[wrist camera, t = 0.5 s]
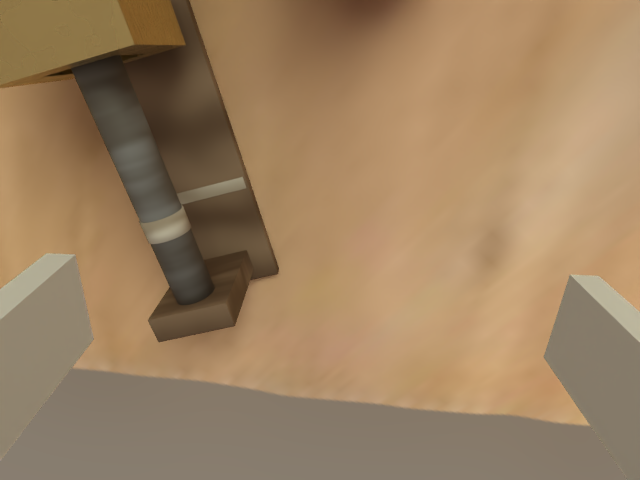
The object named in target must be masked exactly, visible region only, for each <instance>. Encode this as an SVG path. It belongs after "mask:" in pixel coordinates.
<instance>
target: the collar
mask: <svg viewBox="0 0 640 480" xmlns="http://www.w3.org/2000/svg"><path fill="white" fill-rule="evenodd" d="M185 45H186V44H185V41H184V38H183V35H182V33H181V30H180V27H179V24H178V21H177V18H176V15H175V13H174V10H173V7H172V4H171V1H170V0H0V88H5V87H13V86H21V85H29V84H37V83H45V82H53V81H61V80H69V79H73V78H75V76H74V74H73V72H72V70H71V68H74V67H77V66H81V65H84V64H87V63H91V62H94V61H97V60H101V59H104V58H107V57H111V56H114V55H120V56H121V58H122V61H123V63H127V62H131V61H134V60H137V59H141V58H144V57H148V56H151V55H154V54H158V53H161V52H164V51H168V50H171V49H175V48H178V47H181V46H185Z"/></svg>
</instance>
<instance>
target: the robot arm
mask: <svg viewBox="0 0 640 480" xmlns="http://www.w3.org/2000/svg"><path fill="white" fill-rule="evenodd" d="M93 340H94V338H93V333H92V329H91V324H90V320H89V315H88V310H87V306H86V301H85V297H84V292H83V287H82V283H81V278H80V273H79V269H78V264H77V260H76V255H74V254H49V253H46V254H45V255H44V256H42V257H41V258H40V259H38V260H37V261H36V262H35V263H33V264H32V265H31V266H29V267H28V268H27V269H25V270H24V271H23V272H22V273H20V274H19V275H18V276H16V277H15V278H14V279H13V280H11V281H10V282H9V283H7V284H6V285H5V286H4V287H2V288H1V289H0V461H1V459H2V458H3V457H4V455H5V454H6V453H7V452H8V450H9V449H10V448H11V446H12V445H13V444H14V442H15V441H16V439H18V437H19V436H20V435H21V433H22V432H23V431H24V429H25V428H26V427H27V426H28V424H29V423H30V422H31V420H32V419H33V418H34V416H35V415H36V414H37V413H38V411H39V410H40V409H41V407H42V406H43V405H44V403H45V402H46V401H47V400H48V398H49V397H50V396H51V394H52V393H53V392H54V390H55V389H56V388H57V386H58V385H59V384H60V382H61V381H62V380H63V379H64V377H65V376H66V375H67V373H68V372H69V371H70V370H71V368H72V367H73V366H74V364H75V363H76V362H77V360H78V359H79V358H80V357H81V355H82V354H83V353H84V351H85V350H86V349H87V347H88V346H89V345H90V344H91V342H92V341H93ZM544 358H545V360H546V361H547V363H548V364H549V366H550V367H551V369H552V370H553V371H554V373H555V374H556V376H557V377H558V379H559V380H560V382H561V383H562V385H563V386H564V388H565V389H566V391H567V392H568V394H569V395H570V396H571V398H572V399H573V401H574V402H575V404H576V405H577V407H578V408H579V410H580V411H581V413H582V414H583V416H584V417H585V418H586V420H587V421H588V423H589V424H590V426H591V427H592V429H593V430H594V432H595V433H596V435H597V436H598V437H599V439H600V441H601V442H602V443H603V445H604V446H605V448H606V449H607V451H608V452H609V454H610V455H611V457H612V458H613V460H614V461H615V463H616V464H617V465H618V467H619V468H620V470H621V471H622V473H623V474H624V476H625V477H626V479H627V480H640V312H639V311H638V310H637V309H636V308H635V307H634V306H632V305H631V304H630V303H629V302H628V301H627V300H626V299H624V298H623V297H622V296H621V295H620V294H619V293H618V292H616V291H615V290H614V289H613V288H612V287H611V286H610V285H608V284H607V283H606V282H605V281H604V280H603V279H602V278H600V277H599V276H589V275H570V276H569V279H568V282H567V286H566V289H565V292H564V295H563V298H562V301H561V304H560V308H559V311H558V314H557V317H556V320H555V323H554V326H553V330H552V333H551V336H550V339H549V342H548V345H547V348H546V352H545V355H544Z"/></svg>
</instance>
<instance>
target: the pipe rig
mask: <svg viewBox="0 0 640 480" xmlns="http://www.w3.org/2000/svg"><path fill="white" fill-rule="evenodd" d="M170 1H171V4H172V7H173V10H174V13H175V15H176V18H177V21H178V24H179V27H180V30H181V33H182V35H183V38H184V41H185V44H186V45H185V46H181V47H178V48H175V49H171V50H168V51H164V52H161V53H158V54H154V55H151V56H148V57H144V58H141V59H137V60H134V61H131V62H127V63H123V61H122V58H121V56H120V55H114V56H111V57H107V58H104V59H101V60H97V61H94V62H91V63H87V64H84V65H81V66H77V67H74V68H71V70H72V72H73V74H74V76H75V79H76V81H77V83H78V85H79V87H80V90H81V92H82V94H83V96H84V98H85V101H86V103H87V105H88V107H89V109H90V112H91V114H92V116H93V118H94V120H95V123H96V125H97V127H98V129H99V131H100V134H101V136H102V138H103V140H104V143H105V145H106V147H107V149H108V151H109V154H110V156H111V158H112V160H113V162H114V165H115V167H116V169H117V171H118V173H119V176H120V178H121V180H122V182H123V184H124V187H125V189H126V191H127V193H128V195H129V198H130V200H131V202H132V204H133V206H134V209H135V211H136V213H137V215H138V217H139V220H140V221H139V223H140V225H141V227H142V229H143V231H144V234H145V236H146V238H147V240H148V242H149V243H150V244H151V246H152V248H153V251H154V253H155V255H156V257H157V259H158V262H159V264H160V266H161V268H162V270H163V273H164V275H165V277H166V279H167V281H168V284H169V286H170V288H169V289H168V291H167V292H166V294H165V295H164V297H163V298H162V300H161V301H160V303H159V304H158V306H157V307H156V309H155V310H154V312H153V313H152V315H151V316H150V318H149V320H148V322H149V324H150V326H151V328H152V330H153V332H154V334H155V336H156V338H157V340H158V342H163V341H167V340H172V339H177V338H181V337H186V336H191V335H195V334H200V333H205V332H209V331H214V330H219V329H223V328H228V327H233V326H235V324H236V321H237V318H238V315H239V312H240V309H241V306H242V303H243V300H244V297H245V294H246V291H247V288H248V285H249V282H250V280H252V279H256V278H261V277H265V276H270V275H274V274H278V270H279V268H278V265H277V262H276V259H275V256H274V253H273V250H272V247H271V244H270V241H269V238H268V235H267V232H266V229H265V226H264V223H263V220H262V217H261V214H260V211H259V208H258V205H257V202H256V199H255V196H254V193H253V190H252V187H251V184H250V181H249V178H248V175H247V172H246V169H245V166H244V163H243V160H242V157H241V154H240V151H239V148H238V145H237V142H236V139H235V136H234V133H233V130H232V127H231V124H230V121H229V118H228V115H227V112H226V109H225V106H224V103H223V100H222V97H221V94H220V91H219V88H218V85H217V82H216V79H215V76H214V73H213V70H212V67H211V64H210V61H209V58H208V55H207V52H206V49H205V46H204V43H203V40H202V37H201V34H200V31H199V28H198V25H197V22H196V19H195V16H194V13H193V11H192V8H191V5H190V2H189V0H170Z"/></svg>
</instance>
